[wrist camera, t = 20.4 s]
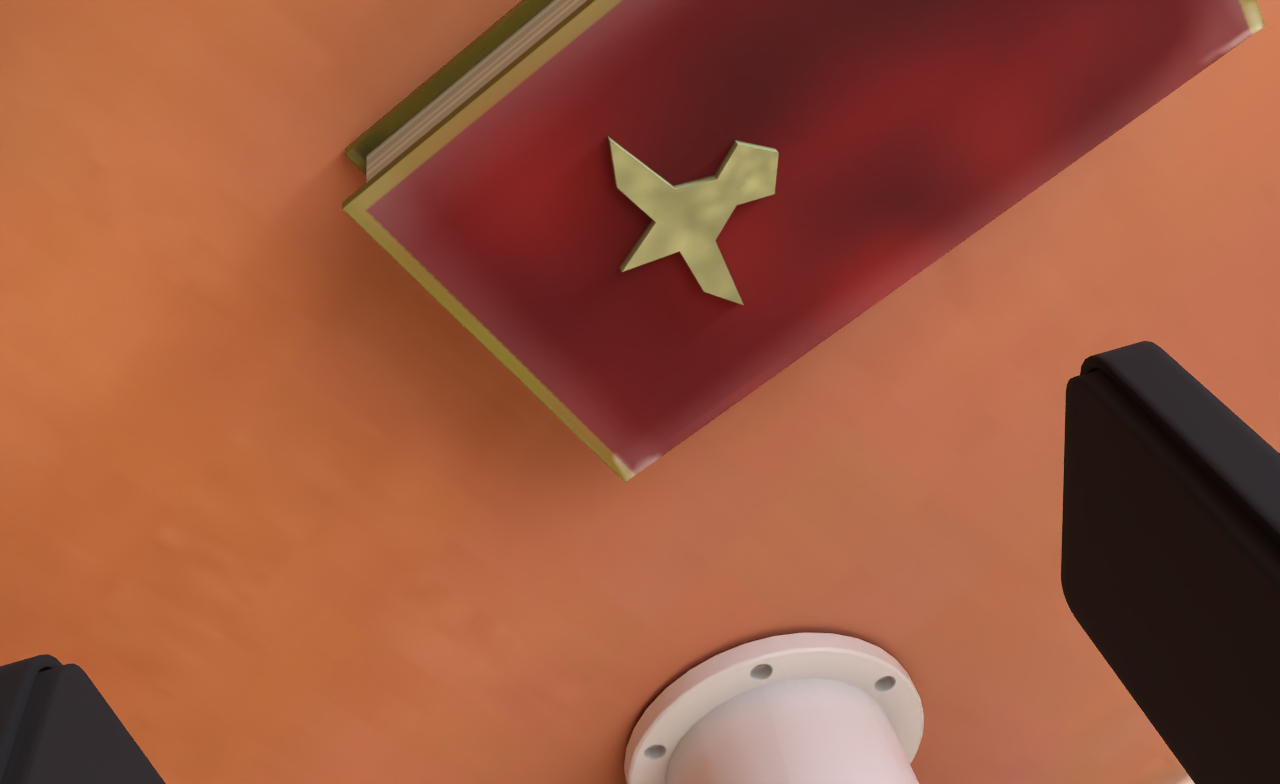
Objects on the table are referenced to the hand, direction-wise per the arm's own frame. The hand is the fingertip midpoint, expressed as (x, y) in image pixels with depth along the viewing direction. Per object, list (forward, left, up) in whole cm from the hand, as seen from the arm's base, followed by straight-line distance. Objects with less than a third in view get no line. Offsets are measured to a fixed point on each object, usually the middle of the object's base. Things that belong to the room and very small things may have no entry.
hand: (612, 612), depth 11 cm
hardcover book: (-4, -8, -22) cm, 24 cm away
